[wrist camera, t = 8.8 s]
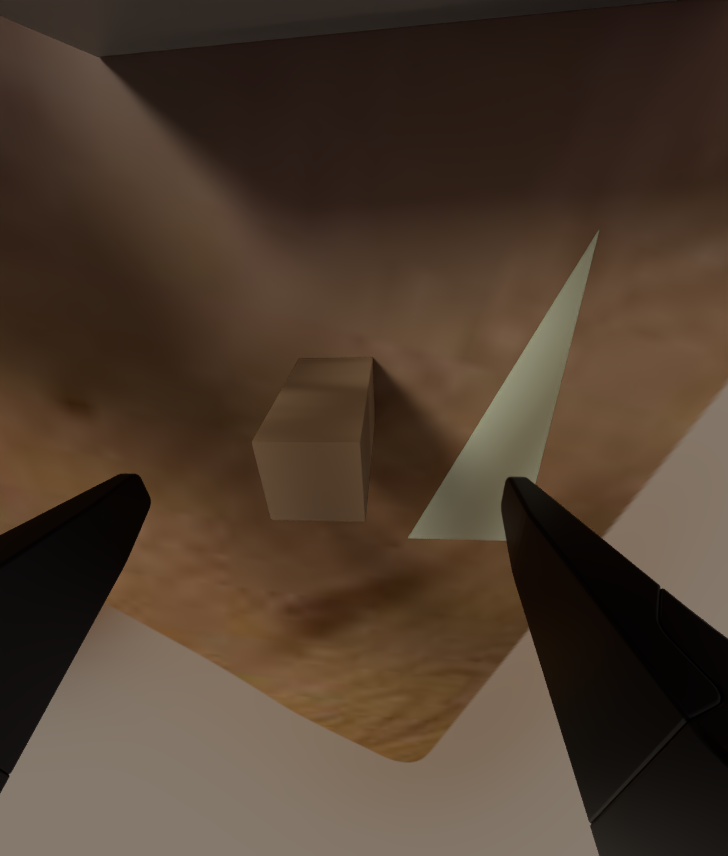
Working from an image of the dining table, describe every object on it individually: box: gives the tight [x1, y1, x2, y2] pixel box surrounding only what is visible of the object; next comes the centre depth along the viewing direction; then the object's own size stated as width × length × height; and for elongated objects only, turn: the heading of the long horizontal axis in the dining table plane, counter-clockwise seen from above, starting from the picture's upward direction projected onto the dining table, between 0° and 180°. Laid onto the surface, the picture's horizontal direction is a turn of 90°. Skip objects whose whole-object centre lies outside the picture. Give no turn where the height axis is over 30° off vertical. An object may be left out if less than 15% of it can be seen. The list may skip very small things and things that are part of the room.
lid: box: [252, 230, 599, 541], centre depth 12 cm, size 15×15×6 cm
